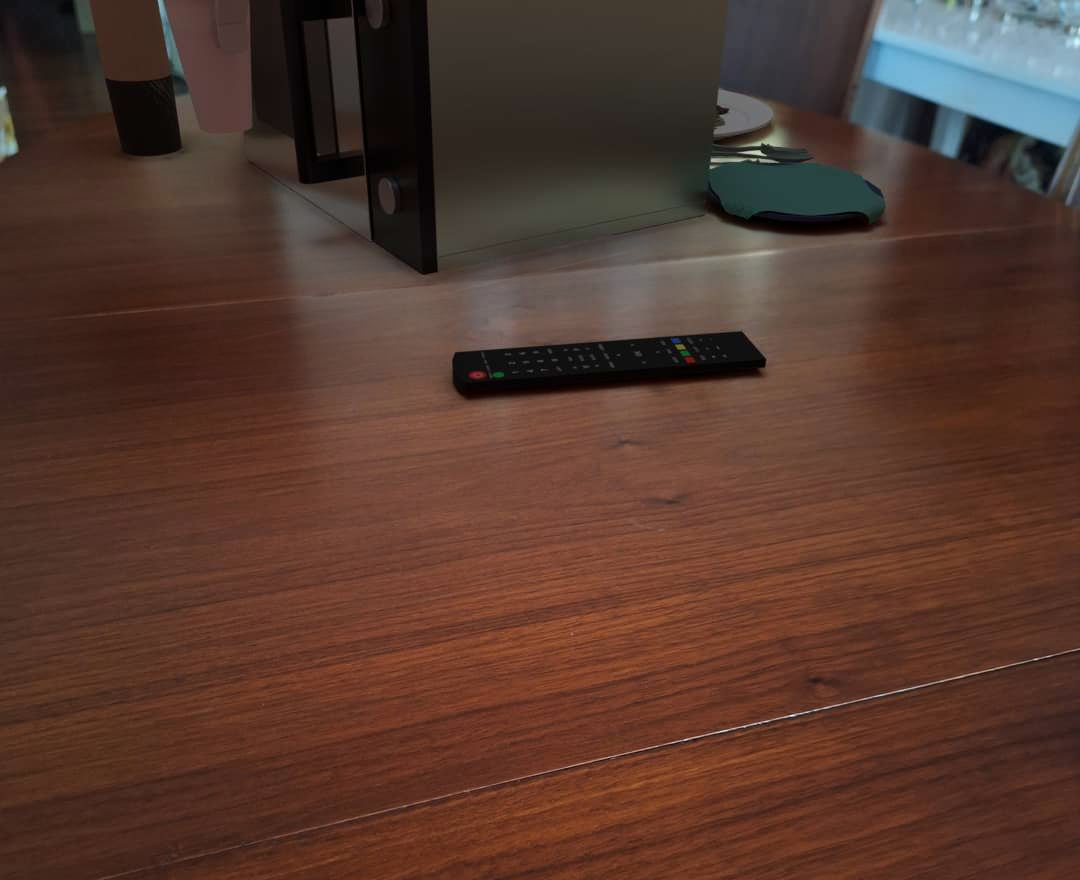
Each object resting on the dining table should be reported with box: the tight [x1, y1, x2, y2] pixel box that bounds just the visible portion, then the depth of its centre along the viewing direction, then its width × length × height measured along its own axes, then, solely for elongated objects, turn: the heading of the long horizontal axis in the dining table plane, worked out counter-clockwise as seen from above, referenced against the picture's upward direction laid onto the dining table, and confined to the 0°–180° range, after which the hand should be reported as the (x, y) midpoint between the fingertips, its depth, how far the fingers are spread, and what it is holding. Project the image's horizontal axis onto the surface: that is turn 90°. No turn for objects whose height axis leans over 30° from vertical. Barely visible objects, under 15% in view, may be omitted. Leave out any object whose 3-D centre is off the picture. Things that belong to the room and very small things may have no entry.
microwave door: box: [242, 0, 375, 242], centre depth 105 cm, size 7×34×28 cm, turn 34°
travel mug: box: [88, 0, 183, 157], centre depth 124 cm, size 8×8×20 cm
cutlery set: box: [707, 142, 887, 226], centre depth 119 cm, size 20×30×2 cm, turn 1°
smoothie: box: [162, 0, 252, 135], centre depth 71 cm, size 6×6×14 cm
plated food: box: [713, 89, 775, 141], centre depth 144 cm, size 30×30×3 cm
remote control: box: [451, 330, 767, 393], centre depth 80 cm, size 5×24×1 cm, turn 102°
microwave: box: [356, 0, 729, 274], centre depth 111 cm, size 35×44×28 cm
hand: (213, 41), depth 72 cm, fingers closed on smoothie, 6 cm apart
